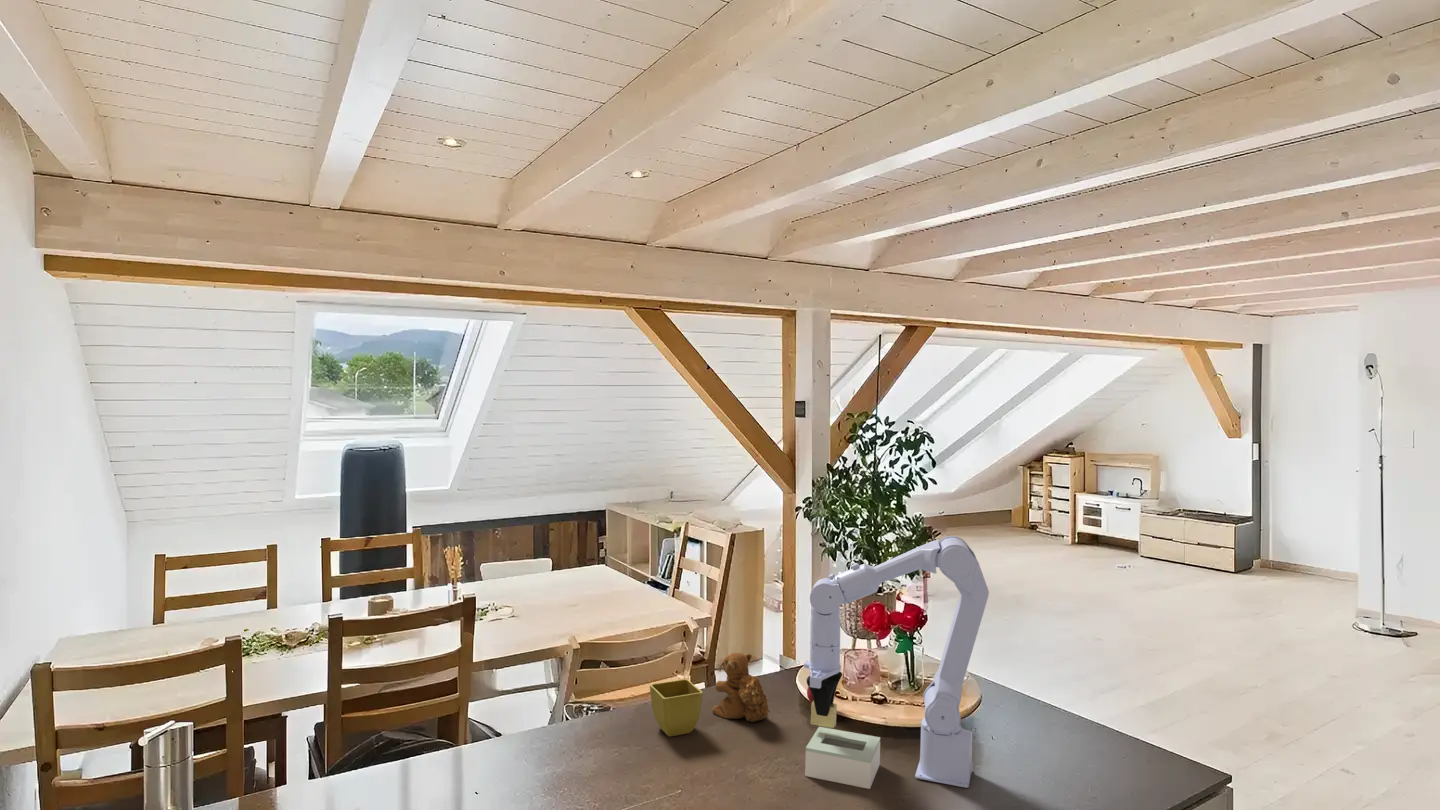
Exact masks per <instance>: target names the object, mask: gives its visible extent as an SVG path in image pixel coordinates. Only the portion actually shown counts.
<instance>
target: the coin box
mask: <svg viewBox="0 0 1440 810" xmlns="http://www.w3.org/2000/svg"><path fill="white" fill-rule="evenodd" d="M880 759H881V737H880V736H874V735H869V734H862V733H857V732H851V731H846V730H840V729H835V728H829V727H823V726H818V728H817V729H816V730H815V732H814V734H813V735H812V737H811V739H810V740H809V742H808V744H807V745H806V747H805V759H804V760H805V764H804V765H805V766H804V768H805V770H804V772H805V773H804V776H805V777H808V778H812V779H813V778H814V779H818V780H822V781H829V782H833V783H838V784H844V785H849V786H853V787H857V788H864V789H868V790H870V789H871V787H872V785H873V783H874V780H875V777H876V774H877V773H878V770H879V768H880V766H881V765H880V764H881V760H880Z"/></svg>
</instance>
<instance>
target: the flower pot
mask: <svg viewBox="0 0 1440 810" xmlns="http://www.w3.org/2000/svg"><path fill="white" fill-rule="evenodd" d="M649 692H650V693H649V694H650V699H651V701H650V702H651V709H652V713H653V716H654V718H655V720H656V721H655V722H656V723H657V725H658V726H659V728H660V729H661V730H662V732H663V733H665V735H666V736H667V737H675V736H680V735H685V734H690V733H692V732H693V730H694V729H695V728H696V725H697V723H698V722H699V719H700V715H701V707H702V701H703V693H704V691H702V690H701V689H700V688H698V686H696V685H695V684H693V682H691V681H690V680H689V679H687V678H683V679H675V680H670V681H663V682H655V683H651V684H649Z"/></svg>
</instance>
